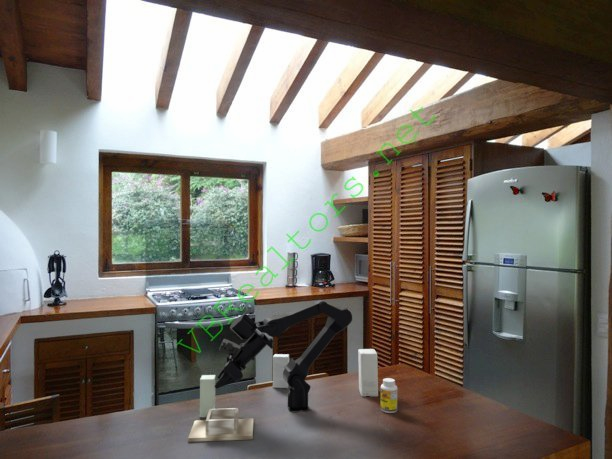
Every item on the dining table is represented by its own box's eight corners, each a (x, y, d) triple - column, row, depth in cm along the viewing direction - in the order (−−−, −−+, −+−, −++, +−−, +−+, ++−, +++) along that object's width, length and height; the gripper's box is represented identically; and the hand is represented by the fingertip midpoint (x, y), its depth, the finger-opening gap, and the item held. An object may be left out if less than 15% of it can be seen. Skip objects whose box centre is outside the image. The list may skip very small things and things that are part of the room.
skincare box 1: (289, 384, 169) (289, 354, 169) (287, 388, 165) (288, 357, 165) (274, 384, 170) (274, 353, 170) (272, 387, 165) (272, 356, 166)
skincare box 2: (378, 397, 156) (378, 354, 157) (360, 396, 156) (360, 353, 157) (374, 389, 165) (375, 348, 165) (357, 389, 165) (357, 348, 165)
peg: (215, 411, 142) (215, 374, 143) (213, 416, 138) (214, 379, 138) (201, 411, 142) (202, 375, 142) (199, 417, 137) (200, 379, 138)
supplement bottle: (377, 408, 145) (377, 378, 146) (391, 406, 148) (391, 376, 148) (386, 414, 140) (386, 383, 141) (400, 412, 142) (400, 381, 143)
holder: (253, 421, 134) (253, 405, 134) (252, 439, 122) (252, 421, 123) (194, 423, 133) (194, 407, 133) (188, 441, 121) (188, 423, 121)
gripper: (235, 325, 151) (203, 357, 149) (232, 337, 132) (195, 374, 131) (258, 347, 151) (225, 380, 150) (257, 362, 133) (220, 399, 131)
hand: (216, 382), depth 140 cm, fingers open, 9 cm apart
